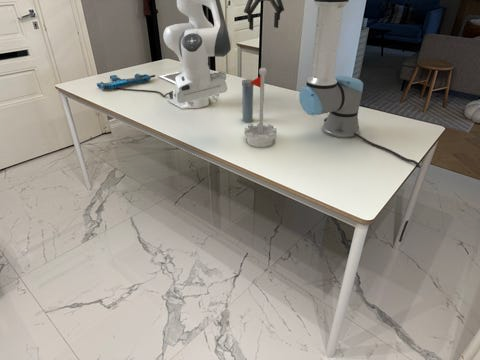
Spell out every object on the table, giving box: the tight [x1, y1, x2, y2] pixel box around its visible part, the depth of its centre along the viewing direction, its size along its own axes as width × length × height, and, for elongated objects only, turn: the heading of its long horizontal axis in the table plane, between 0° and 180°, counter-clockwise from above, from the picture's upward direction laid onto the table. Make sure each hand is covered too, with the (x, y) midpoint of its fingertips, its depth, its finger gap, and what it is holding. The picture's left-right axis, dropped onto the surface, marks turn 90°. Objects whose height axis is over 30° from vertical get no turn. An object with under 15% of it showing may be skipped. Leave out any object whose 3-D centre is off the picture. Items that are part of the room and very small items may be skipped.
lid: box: [241, 78, 255, 87], centre depth 150 cm, size 5×5×2 cm
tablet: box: [157, 70, 182, 85], centre depth 214 cm, size 32×20×1 cm, turn 41°
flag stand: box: [244, 67, 278, 148], centre depth 133 cm, size 13×13×30 cm
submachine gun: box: [96, 73, 156, 91], centre depth 208 cm, size 34×4×25 cm
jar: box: [241, 85, 254, 123], centre depth 155 cm, size 5×5×18 cm
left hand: (203, 103), depth 138 cm, fingers open, 8 cm apart
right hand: (263, 28), depth 163 cm, fingers open, 13 cm apart
